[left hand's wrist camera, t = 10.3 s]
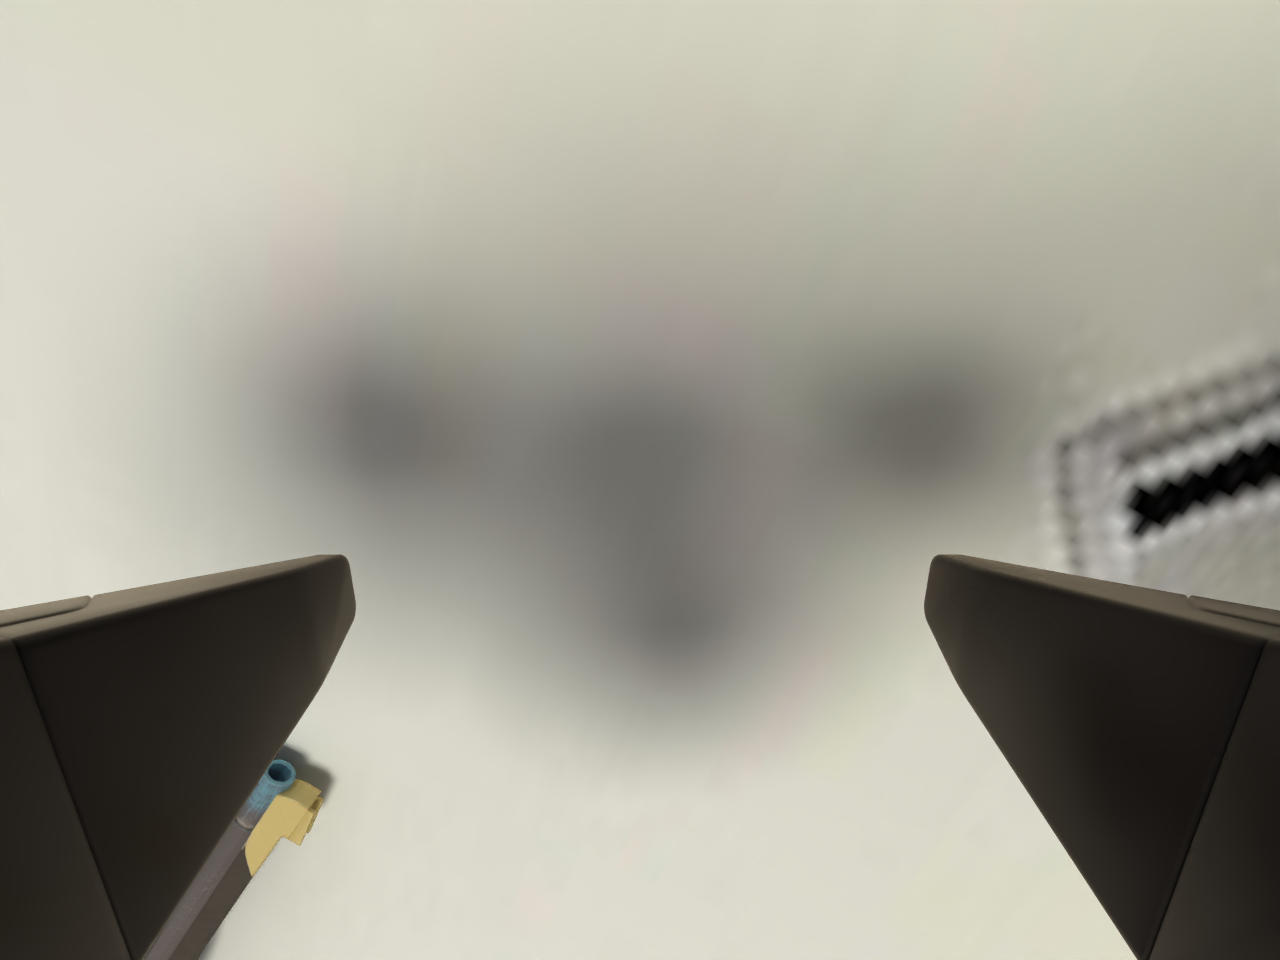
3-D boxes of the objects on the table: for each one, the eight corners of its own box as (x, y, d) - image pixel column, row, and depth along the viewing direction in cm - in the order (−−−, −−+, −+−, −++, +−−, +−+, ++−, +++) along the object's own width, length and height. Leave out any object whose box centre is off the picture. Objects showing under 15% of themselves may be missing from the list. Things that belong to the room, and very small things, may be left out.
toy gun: (-224, 1064, 24) (48, 1207, 25) (-13, 639, 20) (308, 833, 21) (-135, 988, 27) (108, 1121, 28) (69, 598, 22) (350, 772, 23)
